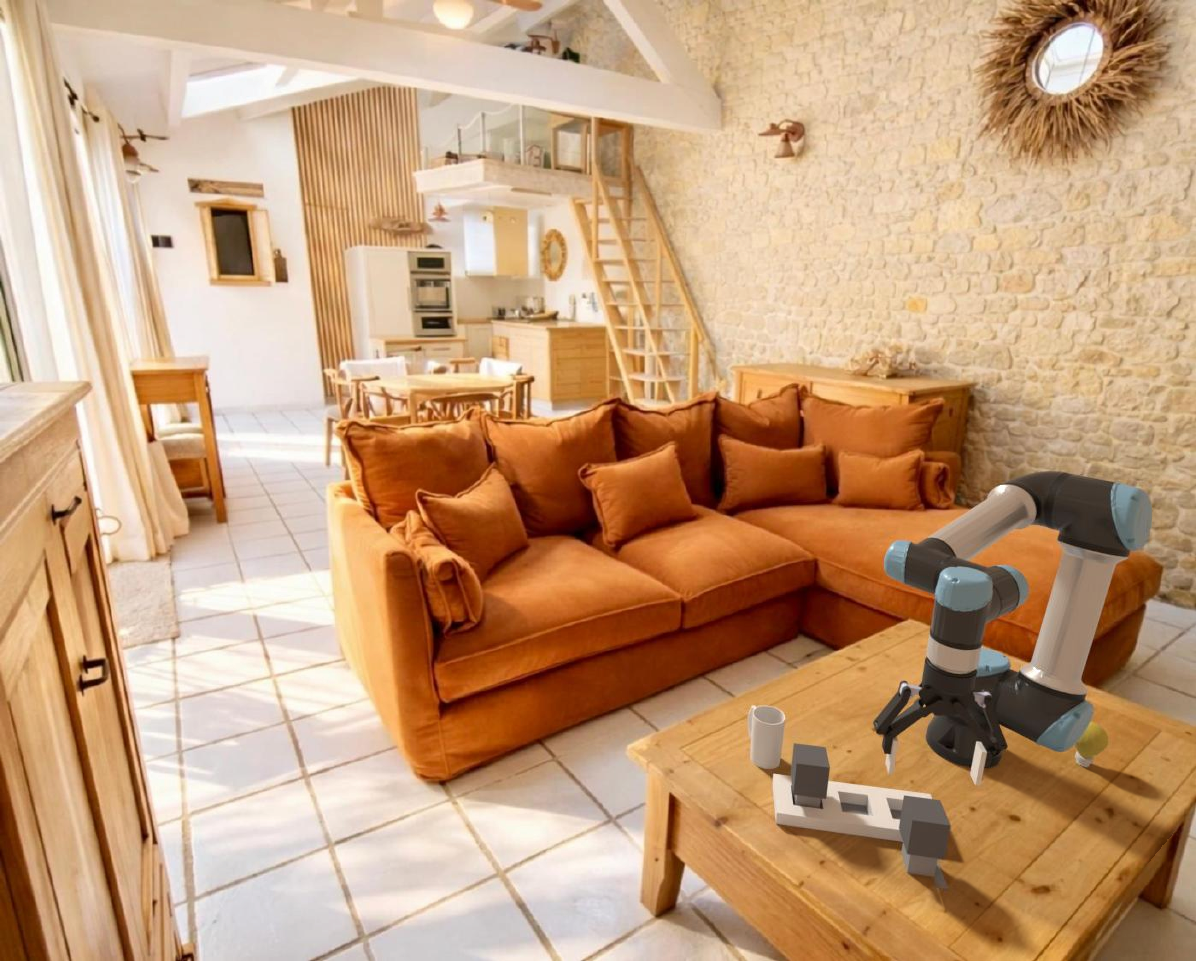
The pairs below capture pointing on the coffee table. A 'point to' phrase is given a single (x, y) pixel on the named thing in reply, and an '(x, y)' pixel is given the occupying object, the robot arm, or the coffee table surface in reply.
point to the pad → (939, 877)
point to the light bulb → (1090, 744)
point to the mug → (766, 735)
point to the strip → (844, 809)
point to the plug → (923, 834)
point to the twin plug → (809, 775)
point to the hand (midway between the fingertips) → (931, 774)
